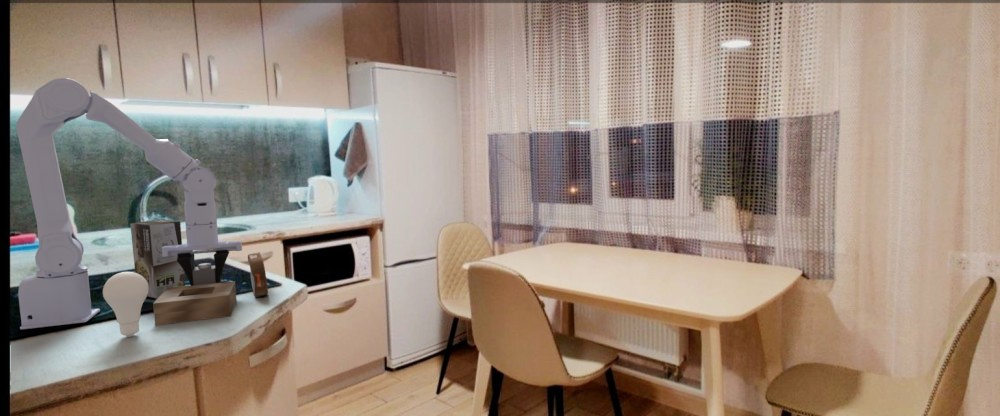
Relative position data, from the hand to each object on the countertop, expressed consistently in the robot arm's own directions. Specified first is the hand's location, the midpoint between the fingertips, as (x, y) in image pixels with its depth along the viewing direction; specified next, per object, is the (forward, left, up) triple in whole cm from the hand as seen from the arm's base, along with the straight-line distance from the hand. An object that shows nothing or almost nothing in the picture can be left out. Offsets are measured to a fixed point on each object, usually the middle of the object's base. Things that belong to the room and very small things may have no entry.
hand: (206, 286), depth 108 cm
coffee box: (-10, +9, -3) cm, 14 cm away
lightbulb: (-8, -22, -3) cm, 24 cm away
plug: (0, 0, -2) cm, 2 cm away
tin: (+10, 0, -3) cm, 10 cm away
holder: (0, -11, -2) cm, 11 cm away
